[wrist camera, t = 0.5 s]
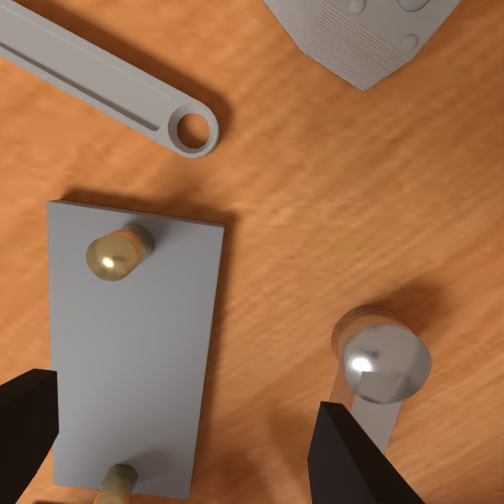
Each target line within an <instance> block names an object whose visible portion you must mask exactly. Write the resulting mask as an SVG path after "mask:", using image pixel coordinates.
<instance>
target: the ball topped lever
mask: <svg viewBox="0 0 504 504" xmlns="http://www.w3.org/2000/svg"><path fill="white" fill-rule="evenodd" d="M332 348H333V351H334V353H335V355H336V357H337V360H338V362H339V367H338V371H337V374H336V378H335V382H334V386H333V390H332V393H331V397H330V401H329V402H333V403H342V404H343V405H344V406H345V407H346V408H347V410H348V411H349V412H350V413H351V415H352V416H353V417H354V418H355V420H356V421H357V422H358V423H359V425H360V426H361V427H362V429H363V430H364V431H365V432H366V434H367V435H368V436H369V437H370V439H371V440H372V441H373V442H374V444H375V445H376V446H377V447H378V449H379V450H380V451H381V452H382V454H383V455H385V452H386V449H387V446H388V443H389V440H390V437H391V434H392V431H393V428H394V425H395V422H396V419H397V416H398V413H399V410H400V408H401V405H402V402H403V400H405V399H407V398H409V397H410V396H412V395H413V394H415V393H416V392H417V391H418V390H419V389H420V388H421V387H422V386H423V385H424V383H425V382H426V380H427V378H428V376H429V373H430V370H431V357H430V354H429V351H428V349H427V347H426V346H425V345H424V343H423V342H422V341H421V340H420V339H419V338H418V337H417V336H416V335H415V334H414V333H413V332H412V331H411V330H410V329H409V328H408V327H407V326H406V325H405V324H404V323H403V322H402V321H401V320H400V319H399V318H398V317H397V316H396V315H395V314H394V313H393V312H392V311H390V310H388V309H386V308H384V307H380V306H374V305H369V306H362V307H358V308H356V309H353V310H351V311H349V312H348V313H346V314H345V315H344V316H343V317H342V318H341V319H340V320H339V321H338V323H337V324H336V326H335V328H334V330H333V333H332Z"/></svg>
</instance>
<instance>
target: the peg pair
mask: <svg viewBox="0 0 504 504" xmlns="http://www.w3.org/2000/svg"><path fill="white" fill-rule="evenodd" d="M153 249H154V240H153V237H152V235H151V233H150V232H149V231H148V230H147V229H146V228H144V227H142V226H140V225H137V224H130V225H126V226H124V227H122V228H120V229H117V230H115V231H113V232H111V233H109V234H107V235H104V236H102V237H100V238H98V239H96V240H94V241H93V242H92V243H91V244H90V245H89V247H88V249H87V252H86V261H87V265H88V267H89V269H90V270H91V271H92V273H93V274H94V275H96V276H97V277H99V278H100V279H102V280H105V281H119V280H122V279H123V278H125V277H126V276H127V275H129V274H130V273H131V272H132V271H133V270H134V269H135V268H137V267H138V266H139V265H140V264H141V263H142V262H143V261H145V260H146V259H147V258H148V257H149V256H150V255H151V254H152V252H153ZM137 479H138V474H137V472H136V470H135V469H134V468H133V467H131V466H129V465H127V464H116V465H113V466H112V467H110V468H109V470H108V472H107V474H106V476H105V478H104V480H103V483H102V485H101V487H100V489H99V491H98V493H97V495H96V497H95V500H94V502H93V504H129V501H130V498H131V496H132V493H133V490H134V487H135V485H136V482H137Z"/></svg>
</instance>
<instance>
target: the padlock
mask: <svg viewBox="0 0 504 504" xmlns="http://www.w3.org/2000/svg"><path fill="white" fill-rule="evenodd" d="M461 1H462V0H264V2H265V3H266V4H267V6H268V7H269V8H270V10H271V11H272V12H273V14H274V15H275V16H276V18H277V19H278V20H279V22H280V23H281V24H282V26H283V27H284V28H285V30H286V31H287V32H288V34H289V35H290V36H291V38H292V39H293V40H294V42H295V43H296V45H297V46H298V47H299V49H300V50H301V51H302V52H303V53H305V54H306V55H308V56H309V57H311V58H312V59H314V60H315V61H317V62H318V63H320V64H321V65H323V66H324V67H326V68H327V69H329V70H330V71H332V72H333V73H335V74H336V75H338V76H339V77H341V78H342V79H344V80H346V81H347V82H349V83H350V84H352V85H353V86H355V87H356V88H358V89H359V90H361V91H366V90H368V89H369V88H371V87H372V86H373V85H375V84H376V83H378V82H380V81H381V80H382V79H384V78H385V77H387V76H388V75H390V74H391V73H393V72H394V71H396V70H397V69H399V68H400V67H402V66H403V65H405V64H406V63H407V62H409V61H410V60H412V59H413V58H414V57H415V56H416V55H417V53H418V52H419V51H420V50H421V49H422V47H423V46H424V45H425V44H426V43H427V41H428V40H429V39H430V38H431V37H432V35H433V34H434V33H435V32H436V31H437V30H438V28H439V27H440V26H441V25H442V24H443V22H444V21H445V20H446V19H447V18H448V16H449V15H450V14H451V13H452V12H453V10H454V9H455V8H456V7H457V6H458V4H459V3H460V2H461Z"/></svg>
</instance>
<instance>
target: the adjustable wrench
mask: <svg viewBox="0 0 504 504" xmlns="http://www.w3.org/2000/svg"><path fill="white" fill-rule="evenodd" d="M0 56H1V57H3V58H5V59H6V60H8V61H10V62H12V63H14V64H16V65H17V66H19V67H21V68H23V69H25V70H26V71H28V72H30V73H32V74H34V75H36V76H37V77H39V78H41V79H43V80H45V81H46V82H48V83H50V84H52V85H54V86H56V87H57V88H59V89H61V90H63V91H65V92H66V93H68V94H70V95H72V96H74V97H76V98H77V99H79V100H81V101H83V102H85V103H86V104H88V105H90V106H92V107H94V108H96V109H97V110H99V111H101V112H103V113H105V114H106V115H108V116H110V117H112V118H114V119H116V120H117V121H119V122H121V123H123V124H125V125H126V126H128V127H130V128H132V129H134V130H136V131H137V132H139V133H141V134H143V135H145V136H146V137H148V138H150V139H152V140H154V141H156V142H157V143H159V144H161V145H163V146H165V147H166V148H168V149H170V150H172V151H174V152H176V153H177V154H179V155H182V156H185V157H188V158H202V157H205V156H207V155H208V154H210V153H211V152H212V151H213V150H214V149H215V147H216V146H217V144H218V141H219V137H220V127H219V124H218V121H217V119H216V117H215V116H214V114H213V113H212V111H211V110H210V109H209V108H208V107H207V106H205V105H204V104H203V103H201V102H199V101H198V100H196V99H194V98H192V97H190V96H188V95H186V94H185V93H183V92H181V91H179V90H177V89H175V88H174V87H172V86H170V85H168V84H166V83H164V82H162V81H161V80H159V79H157V78H155V77H153V76H151V75H149V74H148V73H146V72H144V71H142V70H140V69H138V68H136V67H135V66H133V65H131V64H129V63H127V62H125V61H123V60H122V59H120V58H118V57H116V56H114V55H112V54H110V53H109V52H107V51H105V50H103V49H101V48H99V47H97V46H96V45H94V44H92V43H90V42H88V41H86V40H84V39H83V38H81V37H79V36H77V35H75V34H73V33H71V32H70V31H68V30H66V29H64V28H62V27H60V26H58V25H57V24H55V23H53V22H51V21H49V20H47V19H46V18H44V17H42V16H40V15H38V14H36V13H34V12H33V11H31V10H29V9H27V8H25V7H23V6H21V5H20V4H18V3H16V2H14V1H12V0H0ZM189 113H196V114H198V115H201V116H202V117H203V118H205V120H206V121H207V122H208V125H209V128H210V136H209V139H208V141H207V142H206V144H204V145H203V146H202V147H200V148H189V147H186V146H185V145H184V144H182V142H181V141H180V140H179V138H178V135H177V125H178V122H179V121H180V119H181V118H182V117H183V116H184V115H187V114H189Z"/></svg>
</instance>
